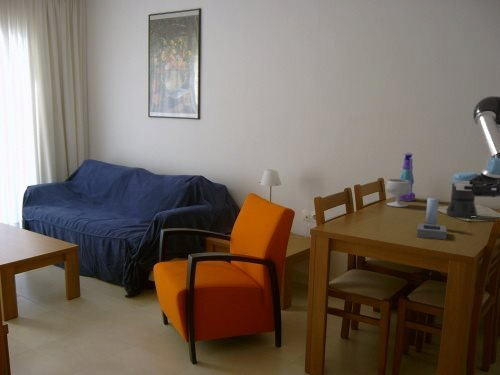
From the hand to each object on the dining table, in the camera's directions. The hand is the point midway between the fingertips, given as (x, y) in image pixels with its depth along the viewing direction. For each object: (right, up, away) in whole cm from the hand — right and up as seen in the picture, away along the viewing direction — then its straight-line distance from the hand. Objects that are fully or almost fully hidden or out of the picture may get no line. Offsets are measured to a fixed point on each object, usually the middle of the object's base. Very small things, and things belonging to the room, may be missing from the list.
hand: (455, 185), depth 222 cm
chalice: (-9, -12, +59) cm, 61 cm away
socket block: (-14, -23, -8) cm, 28 cm away
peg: (-9, -21, +6) cm, 23 cm away
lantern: (+2, -9, +77) cm, 78 cm away
